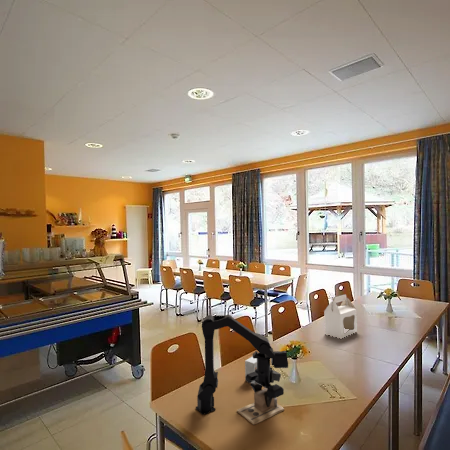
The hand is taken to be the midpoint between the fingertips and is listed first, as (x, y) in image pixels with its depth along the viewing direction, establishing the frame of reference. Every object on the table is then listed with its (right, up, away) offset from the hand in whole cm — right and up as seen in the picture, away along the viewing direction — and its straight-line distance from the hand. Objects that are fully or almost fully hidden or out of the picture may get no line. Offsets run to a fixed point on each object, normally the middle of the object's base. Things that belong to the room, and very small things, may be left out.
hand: (264, 403), depth 133 cm
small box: (-2, -3, +27) cm, 27 cm away
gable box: (+69, -3, +95) cm, 117 cm away
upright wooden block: (0, -1, 0) cm, 1 cm away
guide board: (-2, -2, -1) cm, 3 cm away
